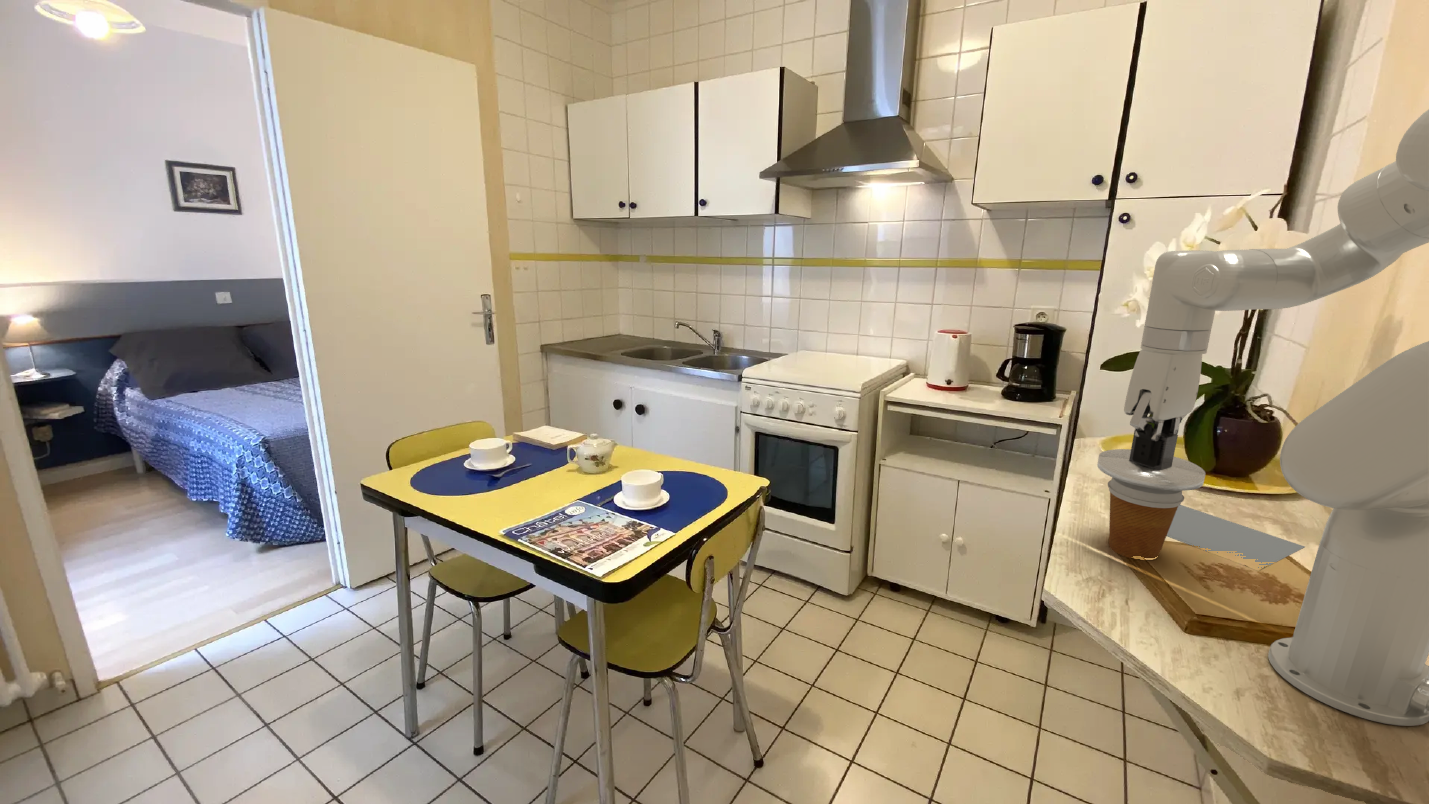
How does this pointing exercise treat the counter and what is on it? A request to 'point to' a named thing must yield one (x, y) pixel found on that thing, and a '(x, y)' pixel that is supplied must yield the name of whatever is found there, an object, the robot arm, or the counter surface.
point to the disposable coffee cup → (1140, 518)
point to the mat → (1228, 536)
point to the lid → (1163, 476)
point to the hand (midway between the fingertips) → (1151, 460)
